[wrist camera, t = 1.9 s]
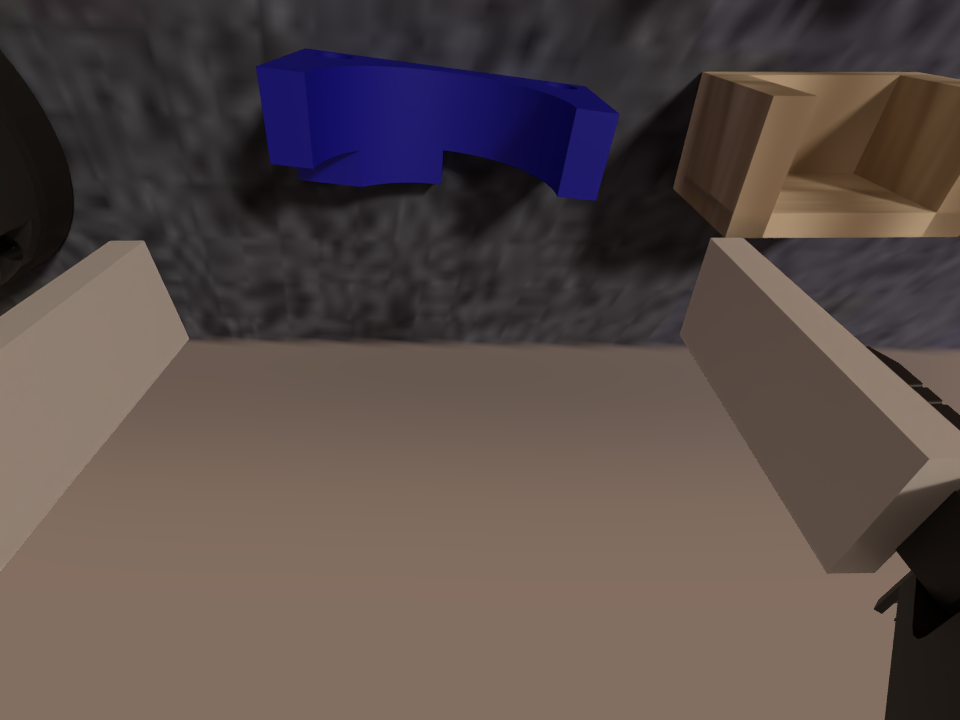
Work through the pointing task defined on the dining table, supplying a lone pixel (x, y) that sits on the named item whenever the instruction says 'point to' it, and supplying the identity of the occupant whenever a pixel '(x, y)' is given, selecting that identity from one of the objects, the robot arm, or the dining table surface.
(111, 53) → the dining table surface
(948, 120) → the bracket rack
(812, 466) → the robot arm
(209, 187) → the dining table surface
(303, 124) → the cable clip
